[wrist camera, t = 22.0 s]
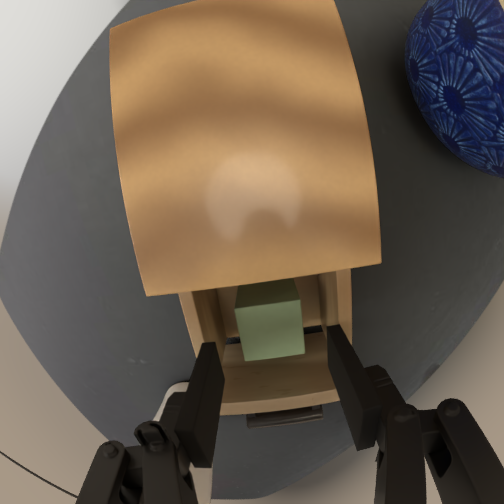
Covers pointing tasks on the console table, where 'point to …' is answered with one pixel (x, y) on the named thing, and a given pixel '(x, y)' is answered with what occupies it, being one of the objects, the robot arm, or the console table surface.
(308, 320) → the drawer
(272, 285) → the block
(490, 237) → the console table surface
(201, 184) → the cabinet
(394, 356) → the console table surface
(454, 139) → the planter
